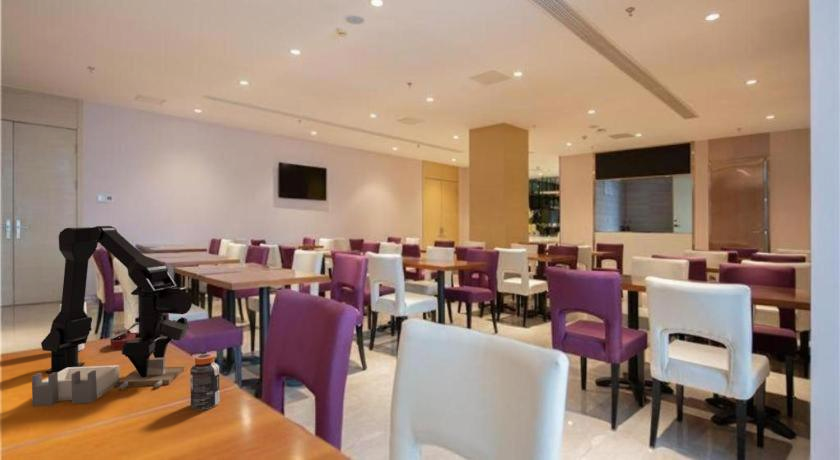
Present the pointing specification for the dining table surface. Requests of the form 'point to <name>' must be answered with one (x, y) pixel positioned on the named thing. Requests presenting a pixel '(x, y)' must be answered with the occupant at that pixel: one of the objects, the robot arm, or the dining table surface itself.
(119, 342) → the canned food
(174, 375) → the grey tabbed base plate
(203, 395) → the pill bottle
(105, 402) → the dining table surface
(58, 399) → the grey notched open box
